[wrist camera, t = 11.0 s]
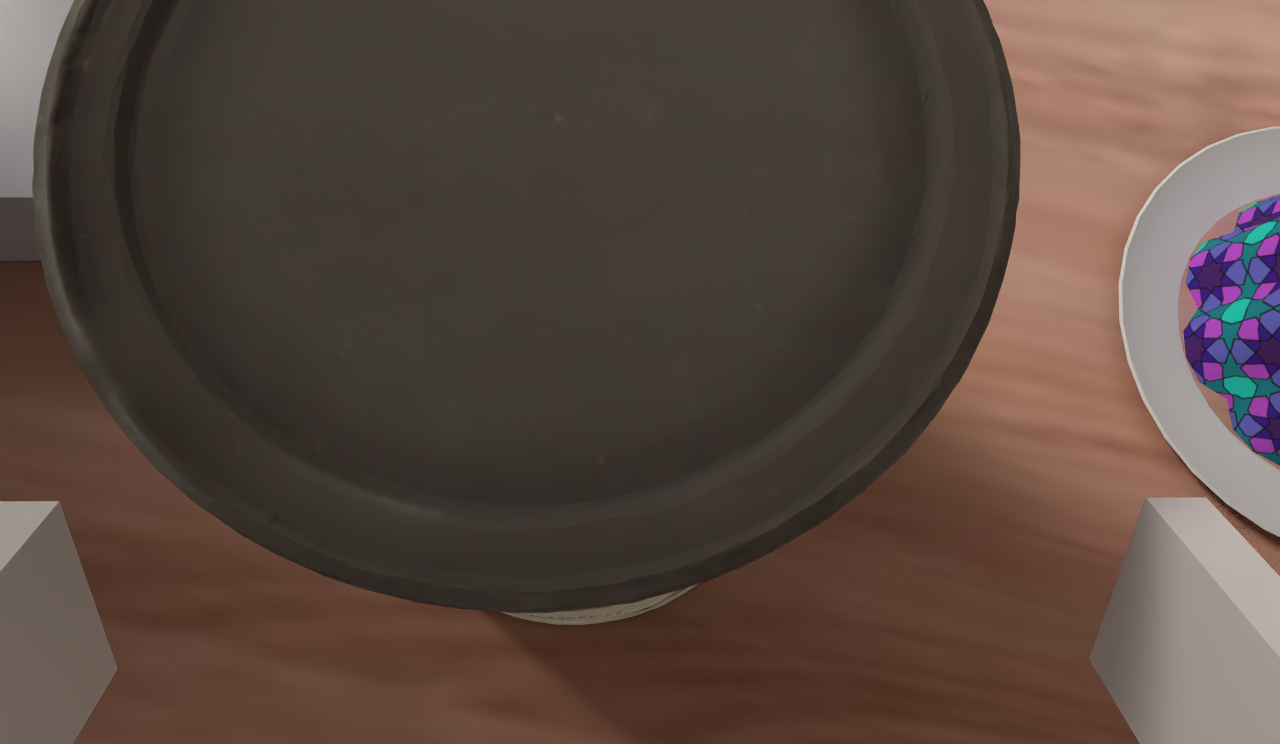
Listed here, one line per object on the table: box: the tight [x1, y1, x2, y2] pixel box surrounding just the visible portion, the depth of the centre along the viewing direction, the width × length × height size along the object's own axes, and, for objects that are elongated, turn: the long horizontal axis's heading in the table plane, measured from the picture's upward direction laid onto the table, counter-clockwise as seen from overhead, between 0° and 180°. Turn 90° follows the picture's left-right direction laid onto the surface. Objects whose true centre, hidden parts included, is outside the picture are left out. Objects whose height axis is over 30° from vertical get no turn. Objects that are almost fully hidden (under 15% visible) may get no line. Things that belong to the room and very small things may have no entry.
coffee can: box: [32, 0, 1020, 625], centre depth 16 cm, size 10×10×14 cm
